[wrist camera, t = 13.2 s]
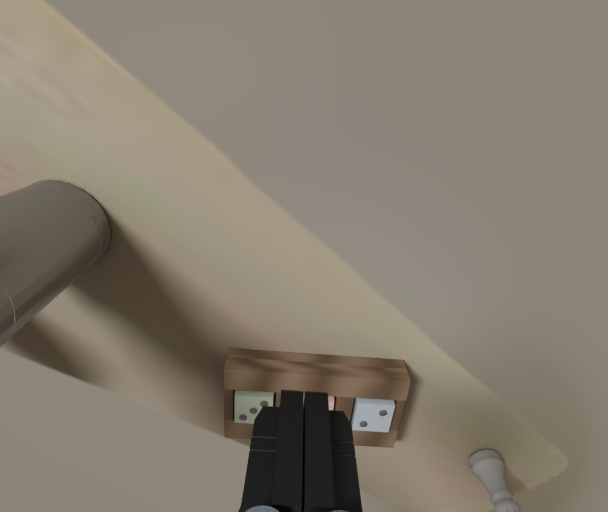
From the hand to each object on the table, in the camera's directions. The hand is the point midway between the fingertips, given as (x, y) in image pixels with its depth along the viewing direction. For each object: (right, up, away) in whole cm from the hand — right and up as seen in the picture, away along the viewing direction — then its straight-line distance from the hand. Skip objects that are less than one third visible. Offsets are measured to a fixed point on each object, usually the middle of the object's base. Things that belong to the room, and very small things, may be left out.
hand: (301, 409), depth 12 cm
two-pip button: (+8, -13, +34) cm, 38 cm away
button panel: (+1, -12, +36) cm, 38 cm away
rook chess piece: (+25, -23, +41) cm, 54 cm away
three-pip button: (-6, -12, +34) cm, 37 cm away
